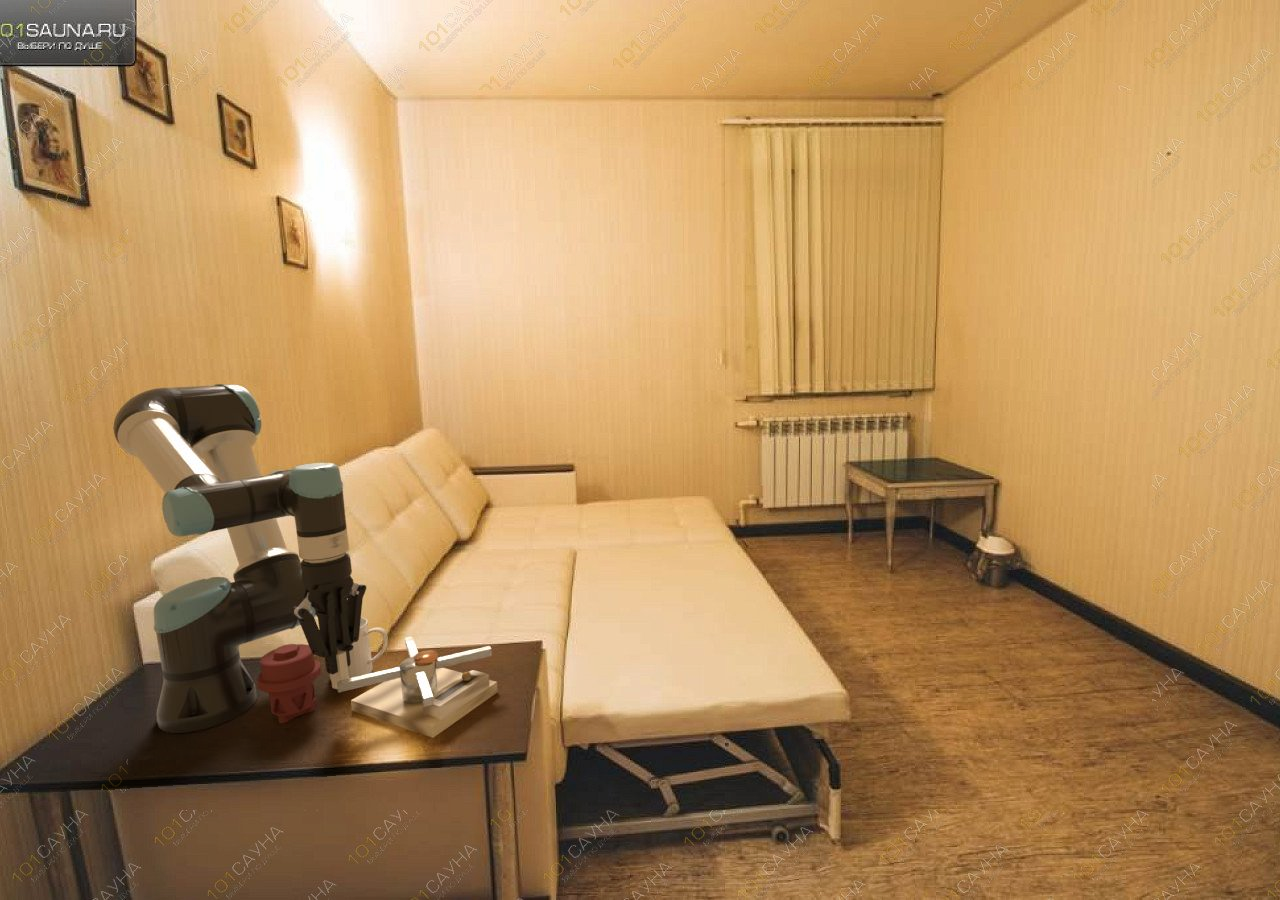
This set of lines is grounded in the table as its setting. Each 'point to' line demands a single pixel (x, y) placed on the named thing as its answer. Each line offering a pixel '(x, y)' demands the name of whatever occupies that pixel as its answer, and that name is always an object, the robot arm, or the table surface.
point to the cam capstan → (415, 672)
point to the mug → (364, 651)
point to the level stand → (449, 705)
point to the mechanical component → (289, 680)
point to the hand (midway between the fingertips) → (341, 687)
